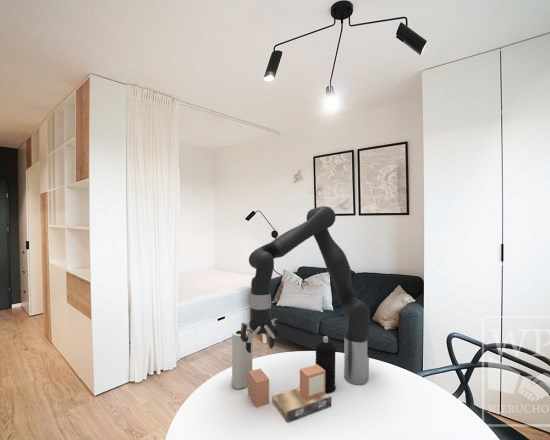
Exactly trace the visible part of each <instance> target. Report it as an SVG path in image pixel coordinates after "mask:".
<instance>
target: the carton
mask: <svg viewBox="0 0 550 440" xmlns="http://www.w3.org/2000/svg"><path fill="white" fill-rule="evenodd" d="M247 389H248V390H247V392H248V393H247V394H248V395H247V396H248V398H249V399H250V400H251V402H252V404H253V405H254V407H255V408H256V409H258V408H260V407H264V406H266V405H269V404H270V378H269V377H268V376H267V375H266V373H265V372H264V371H263V369H261V368H257V369H252V371H248V386H247Z"/></svg>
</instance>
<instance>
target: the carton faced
mask: <svg viewBox="0 0 550 440" xmlns="http://www.w3.org/2000/svg"><path fill="white" fill-rule="evenodd" d="M299 388H300V394H301V395H302V396H303V397H304V398H305V399H306V401H309V400H312V399H315V398H318V397H321V396H323V395H326V393H325V370H324V369H323V368H321V367H320V366H319V365H318V364H317V365H316V364H313V365H310V366H306V367H302V368H300V369H299Z"/></svg>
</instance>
